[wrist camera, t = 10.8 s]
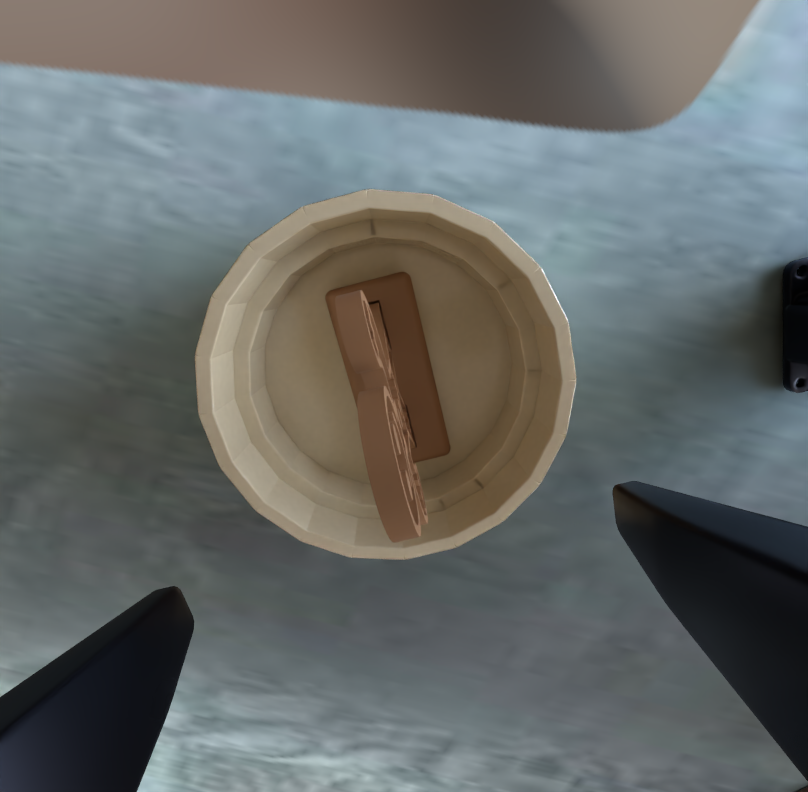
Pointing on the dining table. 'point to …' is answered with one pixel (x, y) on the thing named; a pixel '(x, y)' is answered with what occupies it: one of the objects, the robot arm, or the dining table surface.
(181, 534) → the dining table surface
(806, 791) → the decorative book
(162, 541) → the dining table surface
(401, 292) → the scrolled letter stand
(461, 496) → the bowl
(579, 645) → the dining table surface
